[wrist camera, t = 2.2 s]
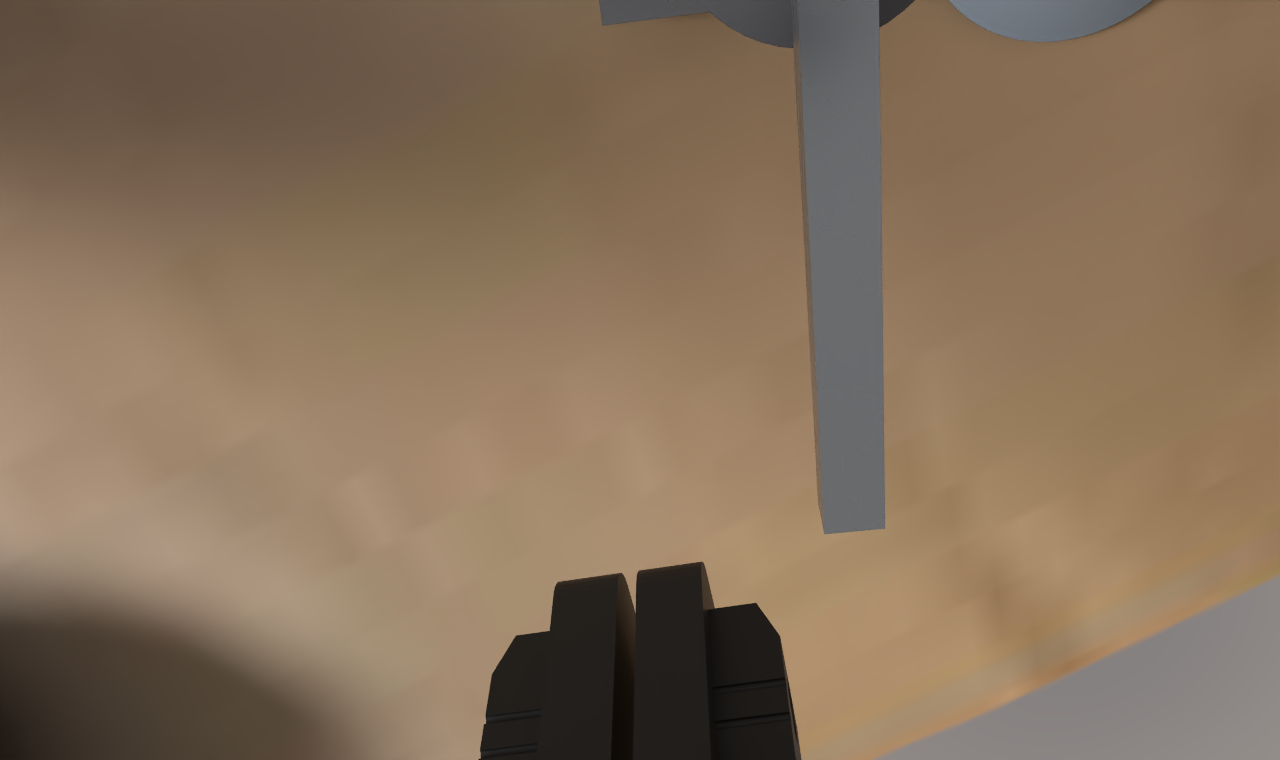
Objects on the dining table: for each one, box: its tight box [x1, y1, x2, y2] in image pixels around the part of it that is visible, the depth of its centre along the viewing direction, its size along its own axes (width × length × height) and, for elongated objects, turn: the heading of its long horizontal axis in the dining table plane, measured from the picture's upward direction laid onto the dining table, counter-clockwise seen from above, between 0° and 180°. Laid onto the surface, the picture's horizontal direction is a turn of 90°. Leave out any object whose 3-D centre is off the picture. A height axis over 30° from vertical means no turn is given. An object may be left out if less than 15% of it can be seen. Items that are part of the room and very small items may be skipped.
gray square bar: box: [791, 0, 885, 534], centre depth 16 cm, size 20×3×3 cm, turn 7°
